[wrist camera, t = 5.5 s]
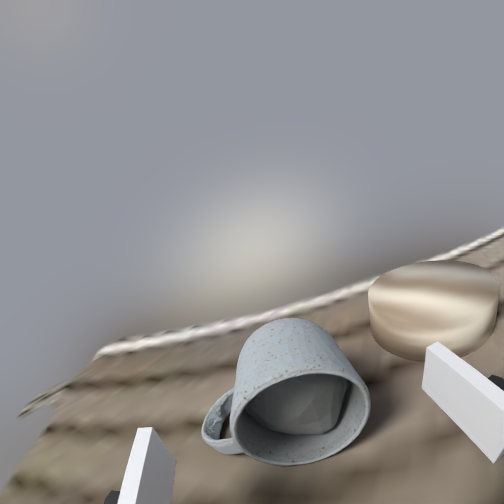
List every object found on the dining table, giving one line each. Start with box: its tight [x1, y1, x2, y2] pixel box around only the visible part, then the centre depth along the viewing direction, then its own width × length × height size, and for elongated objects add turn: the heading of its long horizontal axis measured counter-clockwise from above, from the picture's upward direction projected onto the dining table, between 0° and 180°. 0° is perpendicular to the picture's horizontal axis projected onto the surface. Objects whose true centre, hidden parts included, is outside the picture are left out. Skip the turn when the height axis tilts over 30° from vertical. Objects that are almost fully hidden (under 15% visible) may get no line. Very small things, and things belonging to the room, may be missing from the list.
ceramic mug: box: [202, 317, 371, 466], centre depth 16 cm, size 11×8×8 cm
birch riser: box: [368, 260, 499, 362], centre depth 23 cm, size 14×14×4 cm
